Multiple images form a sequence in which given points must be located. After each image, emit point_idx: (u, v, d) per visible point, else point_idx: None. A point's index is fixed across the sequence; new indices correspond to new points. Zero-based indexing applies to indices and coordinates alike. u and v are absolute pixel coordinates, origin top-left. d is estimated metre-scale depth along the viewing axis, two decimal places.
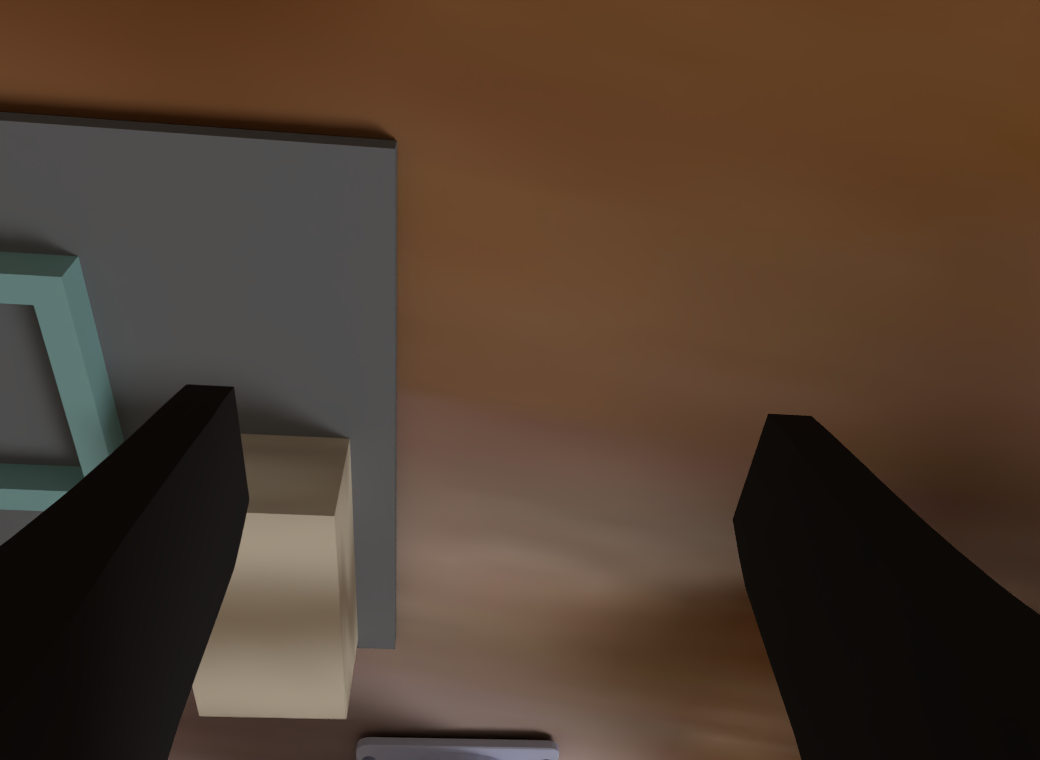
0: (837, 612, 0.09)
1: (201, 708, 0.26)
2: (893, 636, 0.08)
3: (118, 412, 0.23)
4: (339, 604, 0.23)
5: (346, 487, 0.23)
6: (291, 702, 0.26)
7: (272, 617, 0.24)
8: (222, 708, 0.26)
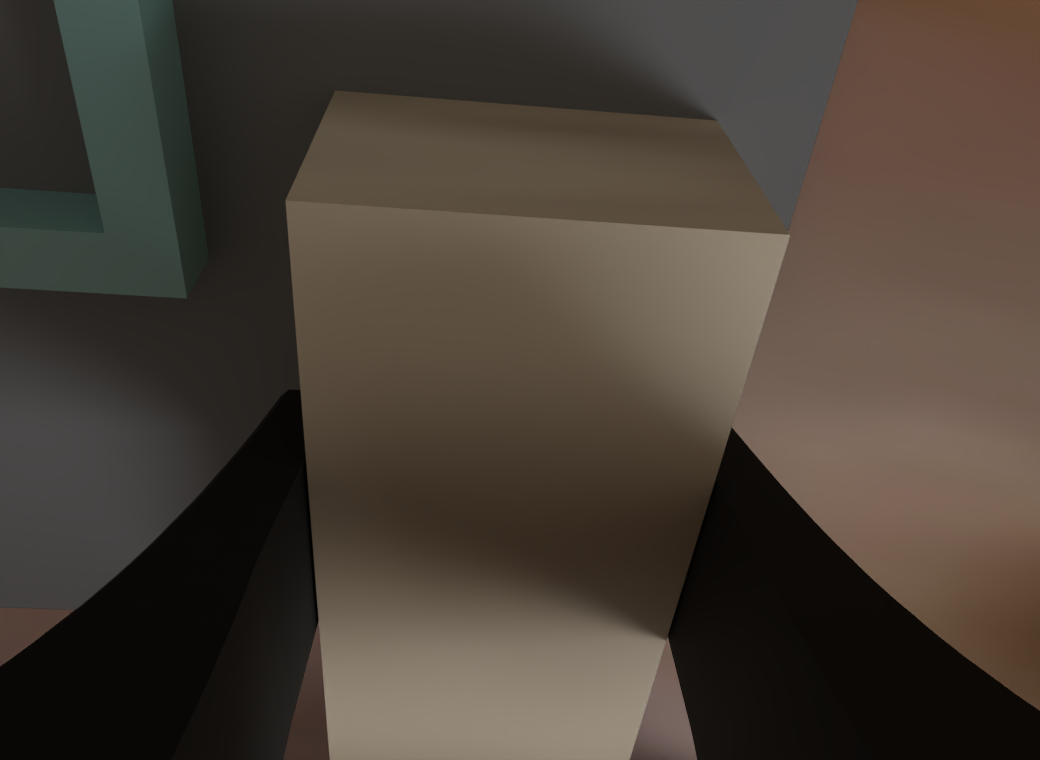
0: (724, 609, 0.09)
1: (336, 746, 0.12)
2: (765, 632, 0.08)
3: (179, 28, 0.09)
4: (704, 506, 0.10)
5: None
6: (526, 734, 0.12)
7: (538, 540, 0.10)
8: (380, 745, 0.12)
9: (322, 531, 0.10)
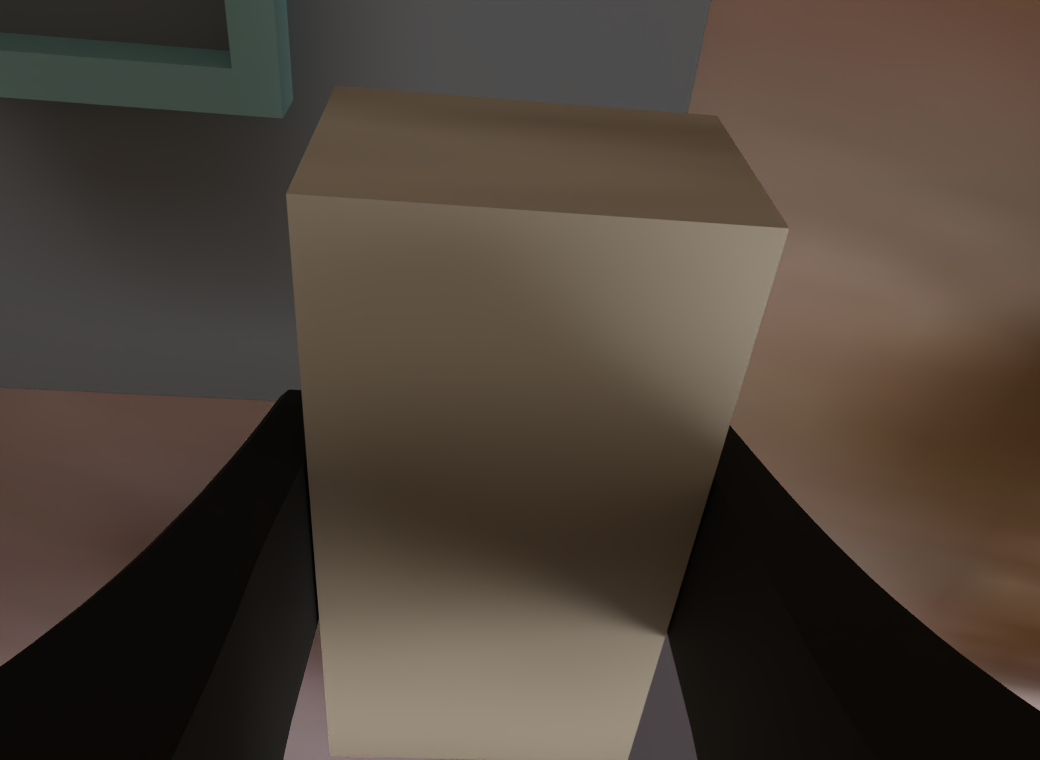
0: (724, 609, 0.09)
1: (336, 741, 0.12)
2: (765, 632, 0.08)
3: None
4: (704, 501, 0.10)
5: None
6: (526, 729, 0.12)
7: (538, 533, 0.10)
8: (380, 741, 0.12)
9: (322, 525, 0.10)
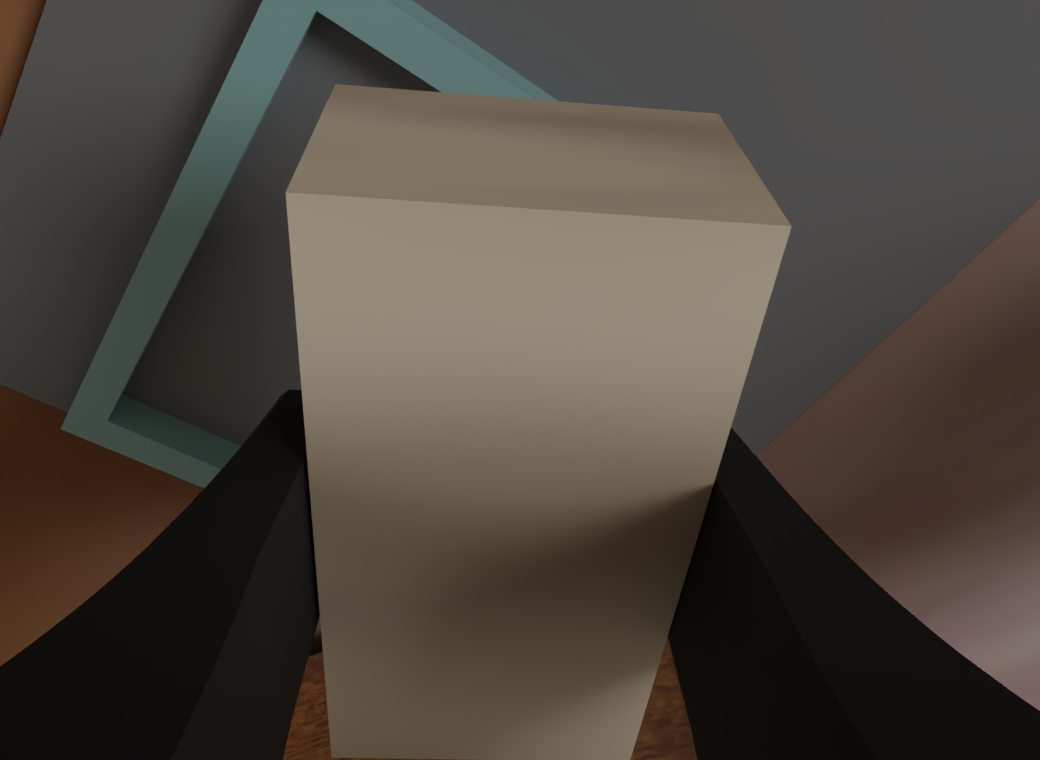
0: (724, 608, 0.09)
1: (338, 741, 0.12)
2: (765, 632, 0.08)
3: (536, 83, 0.16)
4: (706, 500, 0.10)
5: None
6: (528, 729, 0.12)
7: (540, 534, 0.10)
8: (382, 741, 0.12)
9: (324, 525, 0.10)
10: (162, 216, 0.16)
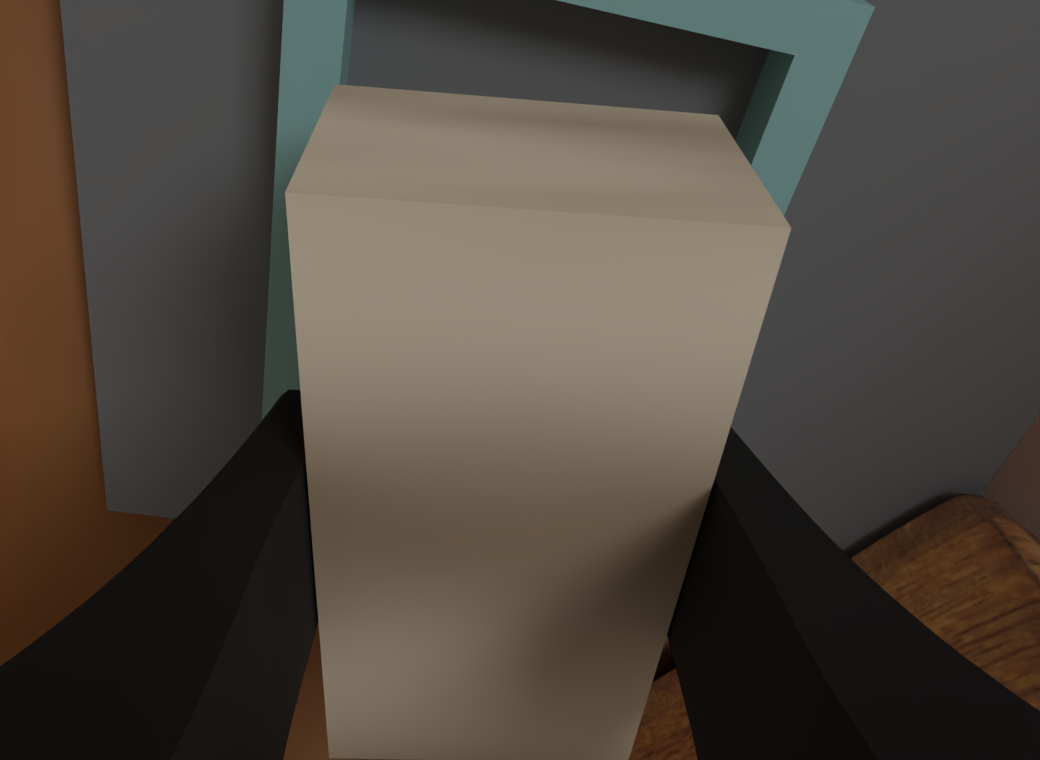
0: (724, 609, 0.09)
1: (336, 742, 0.12)
2: (765, 632, 0.08)
3: None
4: (705, 501, 0.10)
5: None
6: (526, 731, 0.12)
7: (538, 535, 0.10)
8: (380, 742, 0.12)
9: (321, 526, 0.10)
10: (270, 282, 0.13)
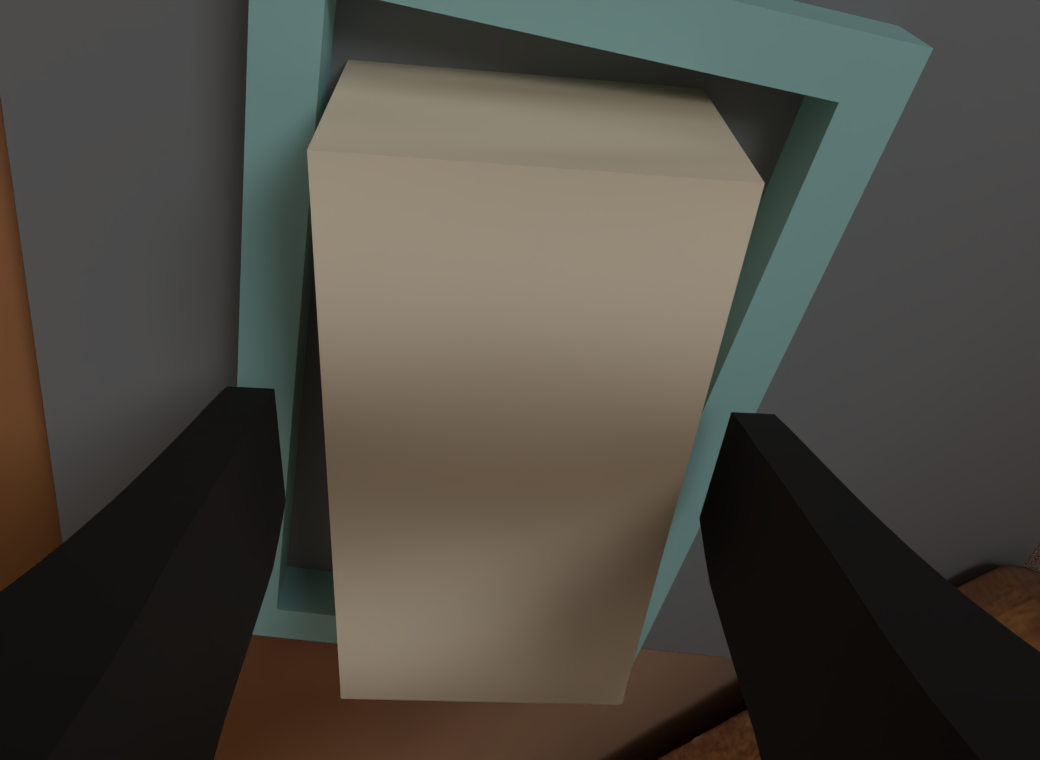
0: (793, 611, 0.09)
1: (347, 682, 0.13)
2: (843, 634, 0.08)
3: None
4: (690, 445, 0.11)
5: None
6: (526, 671, 0.13)
7: (537, 477, 0.11)
8: (388, 682, 0.13)
9: (336, 468, 0.11)
10: (240, 352, 0.12)
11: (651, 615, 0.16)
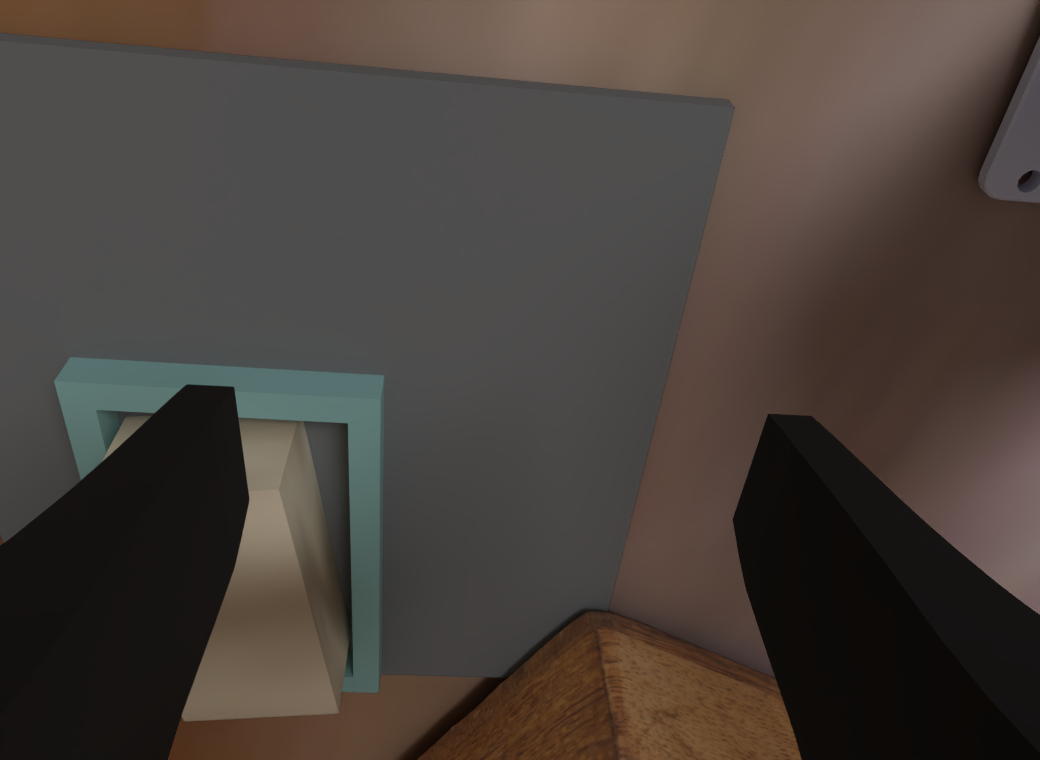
0: (837, 613, 0.09)
1: (184, 713, 0.24)
2: (893, 636, 0.08)
3: (269, 367, 0.21)
4: (305, 588, 0.22)
5: (301, 461, 0.22)
6: (277, 699, 0.24)
7: (236, 608, 0.22)
8: (206, 711, 0.24)
9: None
10: None
11: (375, 658, 0.27)
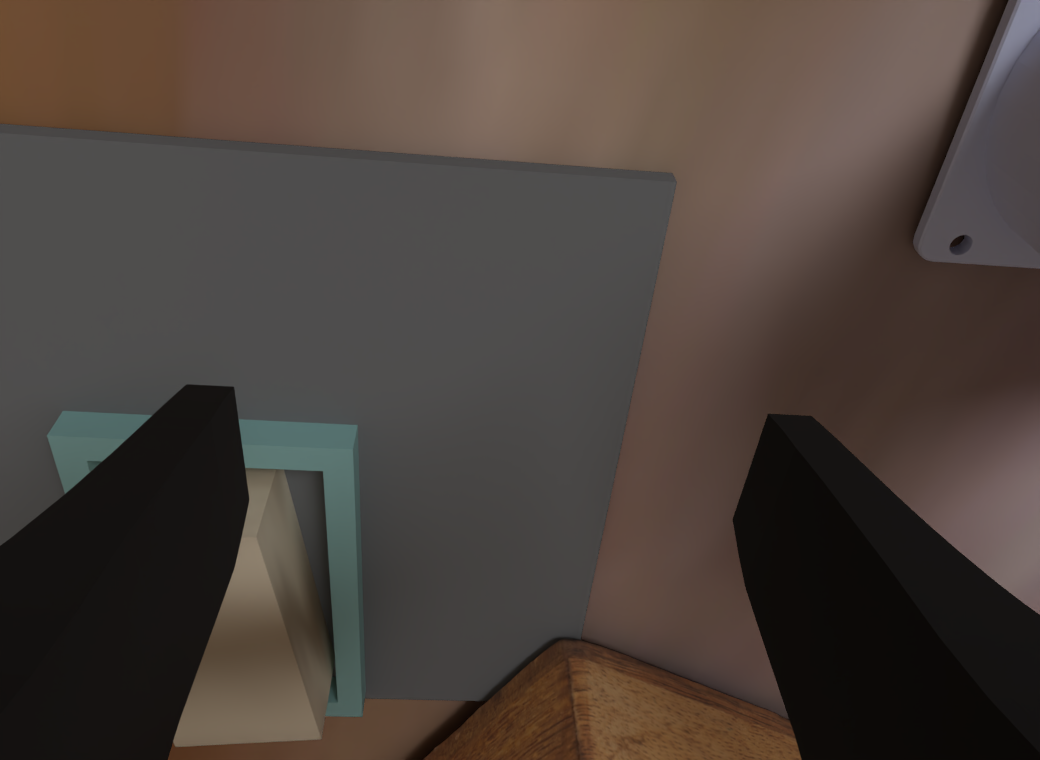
0: (838, 612, 0.09)
1: (175, 739, 0.26)
2: (893, 636, 0.08)
3: (249, 418, 0.22)
4: (285, 625, 0.23)
5: (280, 505, 0.23)
6: (262, 727, 0.26)
7: (221, 644, 0.23)
8: (196, 737, 0.26)
9: None
10: None
11: (358, 685, 0.28)
